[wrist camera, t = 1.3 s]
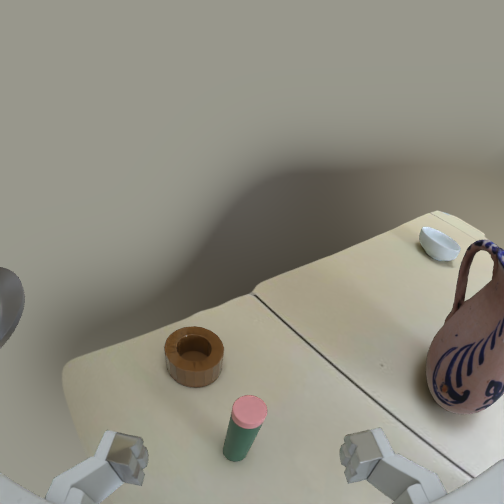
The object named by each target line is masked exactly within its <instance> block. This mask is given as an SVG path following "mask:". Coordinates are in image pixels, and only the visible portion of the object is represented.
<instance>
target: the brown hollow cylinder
mask: <svg viewBox="0 0 504 504" xmlns="http://www.w3.org/2000/svg"><path fill="white" fill-rule="evenodd" d="M164 348H165V356H166V363H167V369H168V372H169V374H170V375H171V377H172V378H173V379H174V380H175V381H177V382H178V383H180V384H182V385H184V386H188V387H203V386H207V385H209V384H211V383H212V382H214V381H215V380H216V379H217V378H218V376H219V375H220V373H221V369H222V361H223V353H224V347H223V344H222V341H221V340H220V339H219V337H218V336H217V335H216V334H215V333H213V332H212V331H210V330H207V329H205V328H202V327H195V326H194V327H184V328H181V329H178V330H176V331H175V332H173V333H172V334H171V335H170V336H169V337H168V338H167V340H166V343H165V347H164Z"/></svg>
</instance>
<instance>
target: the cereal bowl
mask: <svg viewBox="0 0 504 504" xmlns="http://www.w3.org/2000/svg"><path fill="white" fill-rule="evenodd" d="M419 240H420V243H421V245H422V247H423V248H424V249H425V252H426V253H427V254H428V255H429V256H430V257H432V258H434V259H436V260H439V261H442V260H444V261H451V260H453V259H455V258H456V257H457V256H458V254H459V252H460V250H461V248H460V246H459V245H458V244H457V242H455V241H454V240H453V239H452V238H450V237H449V236H447V235H446V234H444V233H442V232H440V231H438V230H436V229H433V228H430V227H422V229H421V232H420V235H419Z"/></svg>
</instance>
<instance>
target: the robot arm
mask: <svg viewBox="0 0 504 504" xmlns="http://www.w3.org/2000/svg"><path fill="white" fill-rule="evenodd" d="M344 442H345V443H344V444H343V445H341V448H340V460H341V464H342V465H344V466H345V467H346V469H345V471H344V473H345V476H346V479H347V482H348V484H349V483H353V482H358V481H362V480H366V479H367V481H368V482H369V483H371V484H372V485H373V486H374V487H376V488H377V489H378V490H380V491H381V492H382V493H384V494H385V495H386V496H388V497H389V498H390V499H392V500H393V501H394V502H393V503H392V504H504V459H502V460H500V461H498V462H497V463H495V464H494V465H493V466H491V467H490V468H489V469H487V470H486V471H484V472H483V473H481V474H480V475H478V476H477V477H475V478H474V479H472V480H471V481H469V482H468V483H466V484H464V485H463V486H461V487H459V488H458V489H456V490H454V491H452V492H451V493H449V494H447V492H446V490H445V488H444V486H443V484H442V482H441V481H440V479H439V477H438V475H437V474H436V473H434V472H432V471H430V470H428V469H426V468H424V467H422V466H420V465H418V464H417V463H415V462H413V461H411V460H409V459H407V458H405V457H404V456H402V455H400V454H395V453H394V451H393V449H392V447H391V445H390V443H389V441H388V439H387V437H386V435H385V433H384V431H383V430H382V429H381V428H375V429H371V430H366V431H362V432H358V433H353V434H348V435H346V436H345V438H344ZM148 456H149V455H148V450H147V448H146V447H145V446H144V445H143V440H142V438H141V437H138V436H133V435H128V434H123V433H119V432H114V431H110V430H107V431H106V432H105V433H104V435H103V437H102V439H101V441H100V444H99V446H98V448H97V451H96V453H95V455H94V457H89V458H87V459H86V460H84V461H83V462H81V463H79V464H77V465H76V466H74V467H72V468H71V469H69V470H67V471H65V472H64V473H62V474H60V475H58V476H56V477H55V478H54V479H53V481H52V483H51V485H50V488H49V490H48V492H47V494H46V496H45V499H44V498H42V497H40V496H38V495H36V494H34V493H33V492H31V491H29V490H27V489H26V488H24V487H22V486H21V485H19V484H18V483H16V482H14V481H13V480H11V479H10V478H8V477H7V476H5V475H4V474H2V473H1V472H0V504H99V503H101V502H102V501H103V500H104V499H105V498H107V497H108V496H109V495H110V494H111V493H113V492H114V491H115V490H116V489H117V488H118V487H120V486H121V485H122V484H123V482H125V483H130V484H135V485H140V486H142V484H143V480H144V476H145V473H144V472H143V469H144V468H145V467H147V464H148Z"/></svg>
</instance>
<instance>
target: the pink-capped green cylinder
mask: <svg viewBox="0 0 504 504" xmlns="http://www.w3.org/2000/svg"><path fill="white" fill-rule="evenodd" d="M266 415H267V406H266V404H265V403H264V402H263V401H262V400H261V399H260V398H258V397H256V396H252V395H246V396H242V397H240V398H238V399H237V400H236V401H235V402H234V404H233V408H232V412H231V417H230V421H229V426H228V430H227V434H226V439H225V443H224V447H223V454H224V456H225V457H226V458H227V459H228V460H230V461H235V462H236V461H241V460H243V459H244V458H245V457H246V455H247V453H248V451H249V449H250V447H251V445H252V443H253V441H254V439H255V437H256V436H257V434H258V432H259V430H260V428H261V426H262V423H263V421H264V419H265V417H266Z"/></svg>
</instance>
